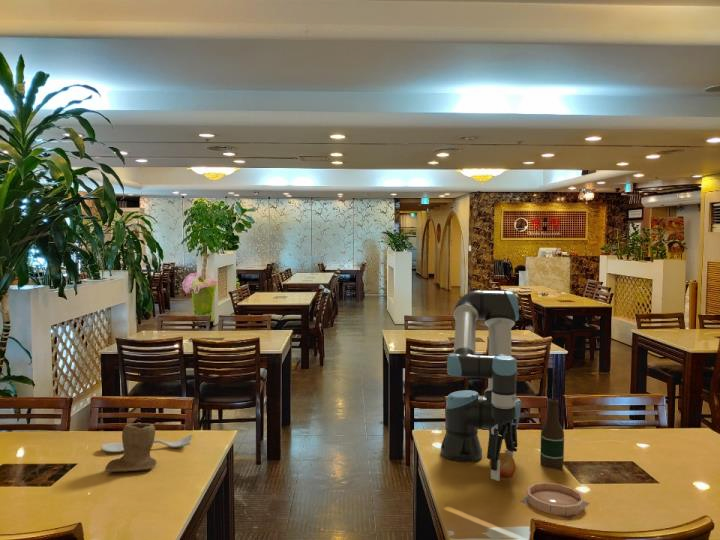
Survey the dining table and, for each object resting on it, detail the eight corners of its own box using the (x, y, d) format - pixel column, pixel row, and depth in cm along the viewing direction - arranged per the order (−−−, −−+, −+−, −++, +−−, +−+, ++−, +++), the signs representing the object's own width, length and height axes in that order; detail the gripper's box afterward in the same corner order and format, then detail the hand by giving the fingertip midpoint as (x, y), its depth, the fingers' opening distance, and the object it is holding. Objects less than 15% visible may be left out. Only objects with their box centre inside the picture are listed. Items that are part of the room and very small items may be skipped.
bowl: (517, 502, 154) (518, 493, 154) (541, 486, 166) (541, 478, 166) (570, 521, 144) (570, 512, 144) (591, 502, 155) (591, 494, 155)
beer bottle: (565, 472, 179) (567, 403, 178) (541, 470, 180) (543, 401, 180) (561, 463, 187) (562, 397, 186) (538, 461, 188) (540, 396, 188)
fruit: (516, 465, 171) (516, 450, 167) (514, 487, 165) (514, 471, 161) (491, 462, 174) (490, 446, 169) (488, 483, 168) (487, 467, 163)
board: (520, 504, 155) (520, 501, 155) (540, 490, 165) (541, 487, 165) (570, 523, 144) (570, 519, 144) (589, 506, 155) (589, 503, 155)
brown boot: (159, 460, 186) (159, 418, 185) (153, 473, 174) (153, 429, 174) (113, 462, 182) (113, 420, 182) (104, 476, 171) (104, 431, 170)
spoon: (190, 450, 195) (190, 441, 195) (98, 456, 188) (98, 447, 188) (192, 442, 204) (192, 433, 204) (104, 447, 197) (104, 438, 197)
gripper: (497, 416, 155) (496, 489, 157) (529, 400, 170) (528, 468, 172) (475, 410, 161) (474, 481, 162) (508, 395, 176) (507, 461, 177)
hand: (502, 474), depth 167 cm, fingers closed on fruit, 8 cm apart
